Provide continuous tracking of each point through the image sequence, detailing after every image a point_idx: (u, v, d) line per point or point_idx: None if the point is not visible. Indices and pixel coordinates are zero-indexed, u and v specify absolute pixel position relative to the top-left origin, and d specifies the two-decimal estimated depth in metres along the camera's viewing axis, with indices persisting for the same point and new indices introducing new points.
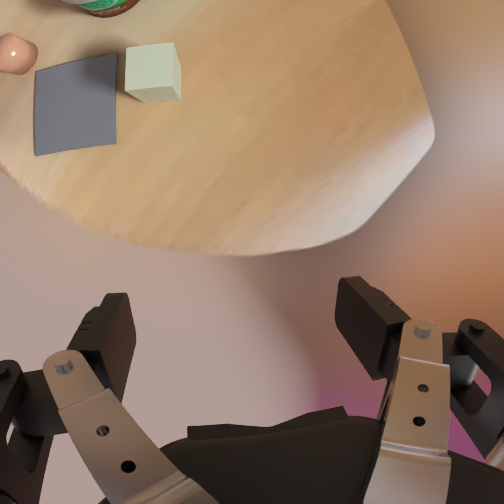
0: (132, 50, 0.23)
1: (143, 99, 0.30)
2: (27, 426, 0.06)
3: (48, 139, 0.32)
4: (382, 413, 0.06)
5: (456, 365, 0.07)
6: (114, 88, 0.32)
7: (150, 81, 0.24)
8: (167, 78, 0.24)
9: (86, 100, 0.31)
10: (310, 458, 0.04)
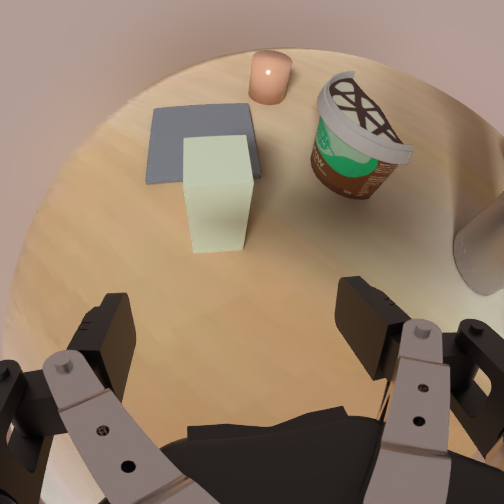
0: (241, 140, 0.21)
1: None
2: (27, 426, 0.06)
3: (167, 118, 0.35)
4: (382, 413, 0.06)
5: (456, 365, 0.07)
6: None
7: (193, 162, 0.20)
8: (195, 180, 0.19)
9: None
10: (310, 458, 0.04)
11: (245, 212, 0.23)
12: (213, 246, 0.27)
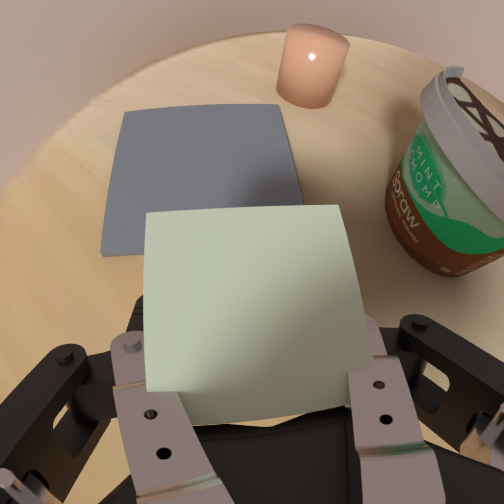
0: (329, 226, 0.07)
1: None
2: (81, 411, 0.06)
3: (145, 128, 0.20)
4: None
5: None
6: None
7: (178, 322, 0.06)
8: (189, 402, 0.05)
9: (204, 187, 0.18)
10: (310, 458, 0.04)
11: None
12: None
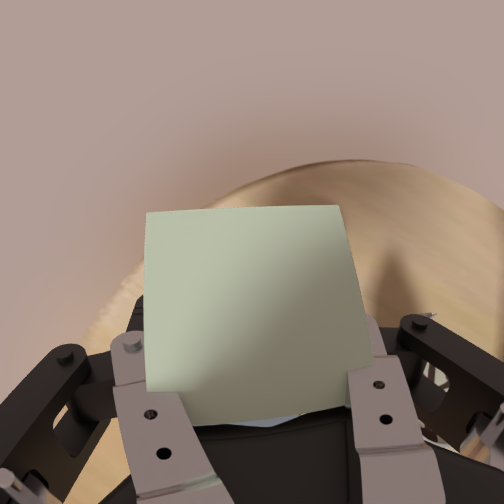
0: (329, 227, 0.07)
1: None
2: (81, 411, 0.06)
3: None
4: None
5: None
6: None
7: (178, 322, 0.06)
8: (189, 402, 0.05)
9: None
10: (310, 458, 0.04)
11: None
12: None
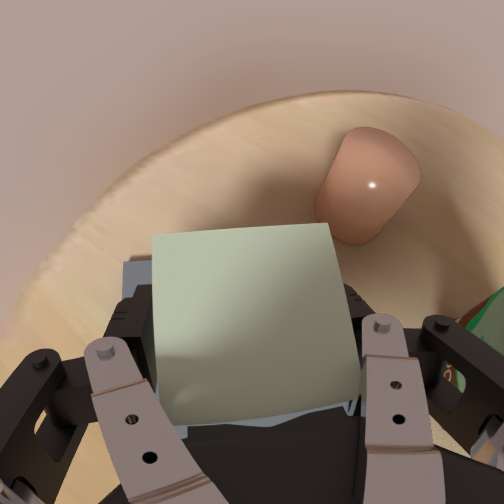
0: (319, 244, 0.08)
1: None
2: (60, 416, 0.06)
3: None
4: (354, 413, 0.06)
5: (419, 361, 0.08)
6: None
7: (184, 334, 0.07)
8: (196, 404, 0.06)
9: None
10: (310, 458, 0.04)
11: None
12: None
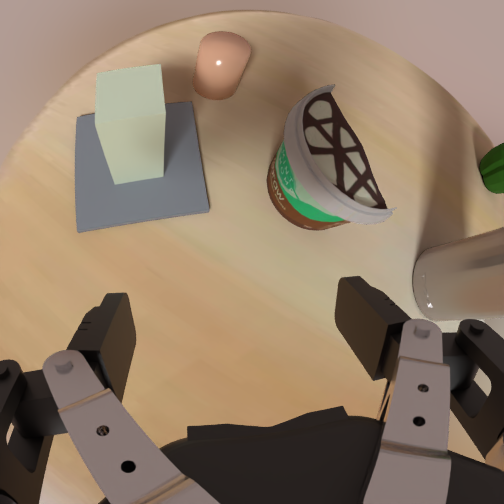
0: (155, 70, 0.18)
1: None
2: (27, 426, 0.06)
3: (93, 132, 0.26)
4: (382, 413, 0.06)
5: (456, 365, 0.07)
6: (154, 217, 0.26)
7: (105, 97, 0.16)
8: (106, 116, 0.16)
9: None
10: (310, 458, 0.04)
11: (160, 141, 0.21)
12: (133, 176, 0.25)
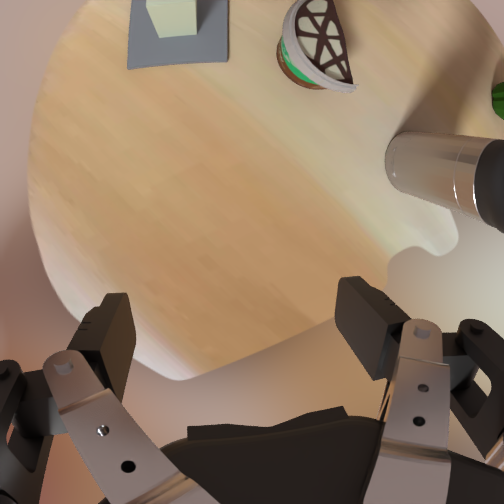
0: None
1: None
2: (27, 426, 0.06)
3: None
4: (382, 413, 0.06)
5: (456, 365, 0.07)
6: (186, 62, 0.31)
7: None
8: (154, 1, 0.20)
9: None
10: (310, 458, 0.04)
11: (193, 15, 0.24)
12: (173, 33, 0.28)
